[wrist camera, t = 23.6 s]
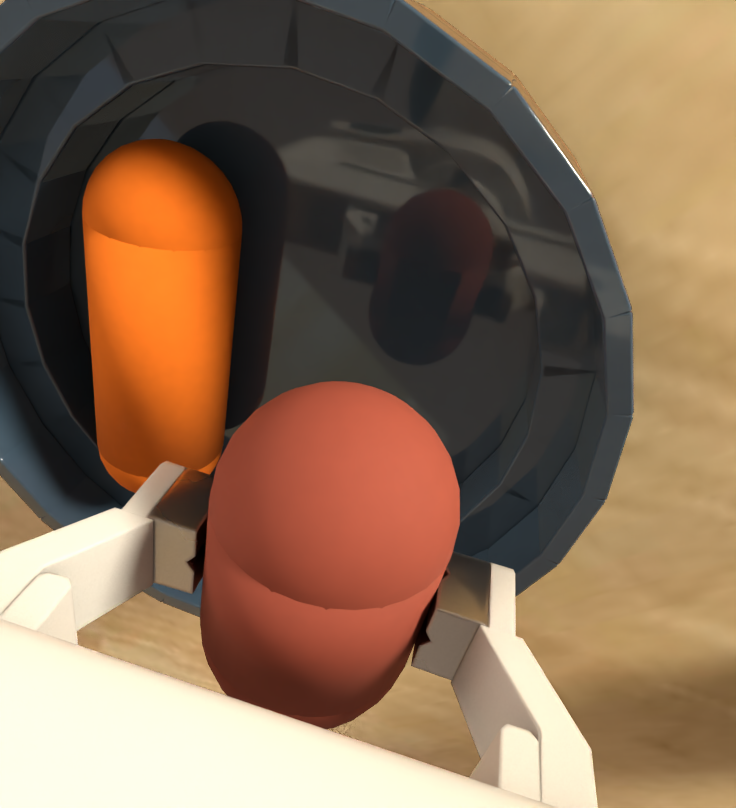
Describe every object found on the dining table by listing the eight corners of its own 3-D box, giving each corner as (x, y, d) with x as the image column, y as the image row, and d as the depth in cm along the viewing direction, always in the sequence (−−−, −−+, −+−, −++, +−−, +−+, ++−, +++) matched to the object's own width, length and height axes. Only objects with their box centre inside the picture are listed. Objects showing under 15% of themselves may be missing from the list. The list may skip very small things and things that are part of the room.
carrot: (135, 113, 16) (37, 131, 13) (271, 149, 16) (206, 178, 13) (139, 439, 23) (75, 507, 19) (236, 470, 22) (188, 544, 19)
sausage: (276, 313, 12) (161, 442, 8) (498, 377, 11) (490, 544, 8) (242, 568, 16) (156, 733, 12) (404, 621, 16) (368, 806, 12)
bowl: (700, -20, 13) (785, -49, 9) (538, 579, 23) (542, 697, 19) (-48, -35, 16) (-245, -62, 12) (99, 498, 26) (20, 584, 22)
